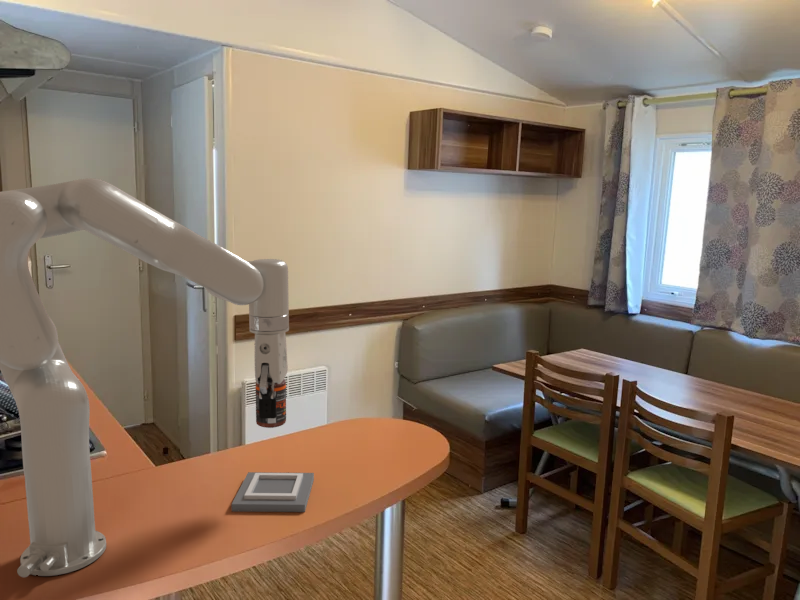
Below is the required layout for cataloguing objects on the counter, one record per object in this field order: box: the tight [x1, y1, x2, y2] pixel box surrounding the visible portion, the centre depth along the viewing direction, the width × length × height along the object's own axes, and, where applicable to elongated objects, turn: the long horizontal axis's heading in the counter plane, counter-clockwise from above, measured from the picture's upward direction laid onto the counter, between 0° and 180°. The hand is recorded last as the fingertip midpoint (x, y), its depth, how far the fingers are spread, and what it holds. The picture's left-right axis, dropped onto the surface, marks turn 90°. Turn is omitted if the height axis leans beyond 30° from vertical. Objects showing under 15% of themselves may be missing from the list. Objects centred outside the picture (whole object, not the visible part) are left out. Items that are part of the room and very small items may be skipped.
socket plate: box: [231, 471, 315, 513], centre depth 125 cm, size 14×14×2 cm
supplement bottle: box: [255, 378, 287, 429], centre depth 123 cm, size 6×6×11 cm
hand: (271, 411), depth 123 cm, fingers closed on supplement bottle, 6 cm apart
